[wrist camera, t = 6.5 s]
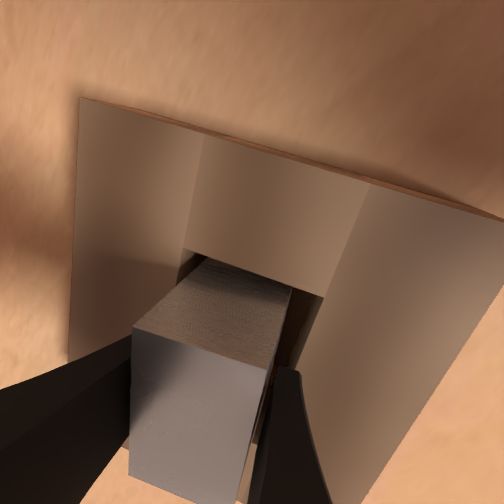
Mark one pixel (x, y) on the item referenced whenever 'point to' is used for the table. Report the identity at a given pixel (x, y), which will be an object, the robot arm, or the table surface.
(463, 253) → the well block
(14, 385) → the robot arm
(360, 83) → the table surface
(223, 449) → the wedge block
